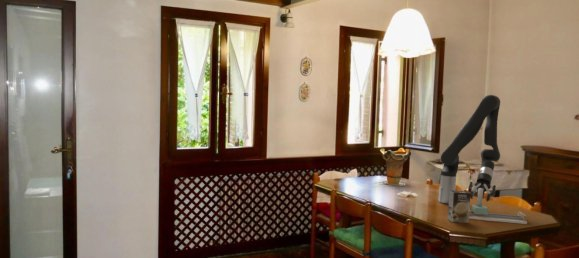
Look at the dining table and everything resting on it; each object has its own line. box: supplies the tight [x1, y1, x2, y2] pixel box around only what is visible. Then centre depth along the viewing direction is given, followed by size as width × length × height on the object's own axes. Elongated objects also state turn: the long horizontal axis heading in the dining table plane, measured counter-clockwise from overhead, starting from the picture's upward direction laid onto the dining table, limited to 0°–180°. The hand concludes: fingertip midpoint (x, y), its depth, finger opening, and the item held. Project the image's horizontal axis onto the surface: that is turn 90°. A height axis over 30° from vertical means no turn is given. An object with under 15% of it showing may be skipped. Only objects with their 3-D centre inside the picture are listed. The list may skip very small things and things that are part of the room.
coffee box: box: [446, 189, 471, 224], centre depth 239 cm, size 9×6×16 cm
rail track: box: [468, 208, 528, 225], centre depth 248 cm, size 30×12×4 cm, turn 80°
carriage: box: [471, 188, 489, 215], centre depth 249 cm, size 7×7×14 cm
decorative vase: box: [379, 147, 411, 187], centre depth 339 cm, size 21×23×28 cm
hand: (479, 199), depth 249 cm, fingers open, 7 cm apart
